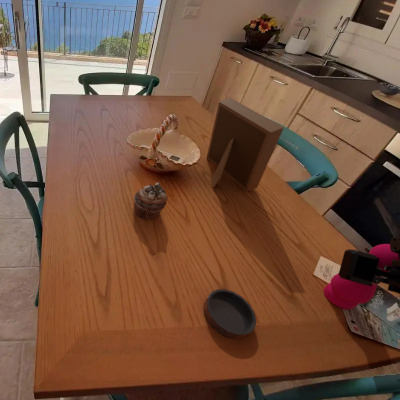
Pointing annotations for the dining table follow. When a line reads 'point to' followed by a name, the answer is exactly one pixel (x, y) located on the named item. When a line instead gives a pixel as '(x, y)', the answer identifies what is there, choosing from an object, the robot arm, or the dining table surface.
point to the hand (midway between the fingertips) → (364, 270)
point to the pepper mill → (355, 292)
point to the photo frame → (241, 144)
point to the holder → (229, 314)
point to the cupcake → (150, 201)
